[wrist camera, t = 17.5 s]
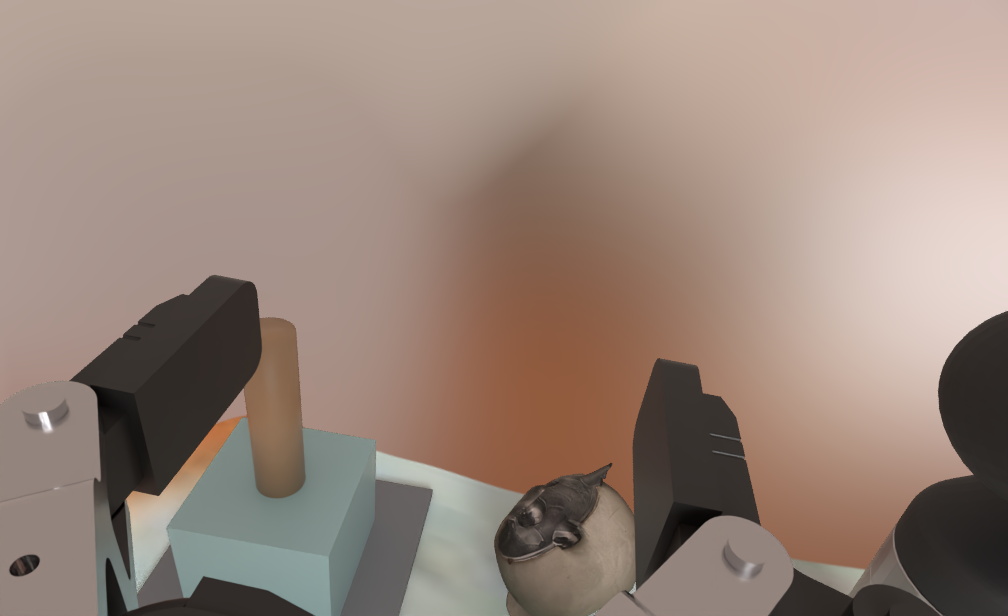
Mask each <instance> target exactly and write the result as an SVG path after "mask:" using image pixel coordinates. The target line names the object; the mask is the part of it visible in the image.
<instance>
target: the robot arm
mask: <svg viewBox="0 0 1008 616" xmlns="http://www.w3.org/2000/svg"><path fill="white" fill-rule="evenodd" d="M261 353H262V339H261V329H260V318H259V308H258V298H257V290H256V287H255V285H254V284H253V283H252V282H249V281H244V280H239V279H233V278H228V277H223V276H217V275H212V276H210V277H209V278H208V279H206V280H205V281H204V282H203V283H202V284H201V285H200V286H199V287H197V288H196V289H195V290H194V291H193V292H192V293H191V294H190V295H184V294H182V295H179V296H177V297H175V298H173V299H170V300H168V301H166V302H164V303H161V304H159V305H157V306H156V307H154V308H153V309H152V310H151V311H150V312H149V313H148V314H146V315H145V316H144V317H143V318H142V319H140V320H139V321H138V325H134V326H132V327H131V328H130V329H129V330H128V331H127V332H125V333H124V335H123V338H119V339H117V340H116V341H115V342H114V343H113V344H112V345H110V346H109V347H108V348H107V349H106V350H105V351H103V352H102V353H101V354H100V355H99V356H98V357H96V358H95V359H94V360H93V361H92V362H91V363H89V364H88V365H87V366H86V367H85V368H84V369H83V370H81V371H80V372H79V373H78V374H77V375H76V376H74V377H73V378H72V379H71V380H70V381H54V382H47V383H43V384H39V385H35V386H32V387H29V388H27V389H25V390H22V391H20V392H18V393H16V394H14V395H13V396H11V397H9V398H8V399H6V400H5V401H4V402H3V403H2V404H0V616H315V615H313V614H311V613H309V612H308V611H306V610H304V609H302V608H300V607H298V606H296V605H295V604H293V603H291V602H289V601H287V600H285V599H283V598H282V597H280V596H278V595H276V594H274V593H272V592H270V591H268V590H264V589H260V588H255V587H251V586H246V585H242V584H237V583H233V582H228V581H223V580H219V579H214V578H210V577H205V576H203V577H202V579H201V581H200V582H199V584H198V585H197V587H196V589H195V590H194V592H193V593H192V595H191V597H190V598H178V599H171V600H165V601H161V602H157V603H153V604H149V605H145V606H143V607H140V608H139V606H138V600H137V592H136V581H135V570H134V558H133V547H132V535H131V524H130V512H129V508H128V505H127V501H126V498H127V497H128V496H129V495H130V493H131V492H132V491H138V492H142V493H147V494H152V495H156V496H159V495H160V494H161V493H162V492H163V490H164V489H165V488H166V486H167V485H168V484H169V483H170V481H171V480H172V479H173V477H174V476H175V475H176V474H177V472H178V471H179V470H180V469H181V467H182V466H183V465H184V463H185V462H186V461H187V460H188V458H189V457H190V456H191V454H192V453H193V452H194V451H195V449H196V448H197V447H198V445H199V444H200V443H201V442H202V440H203V439H204V438H205V437H206V435H207V434H208V433H209V431H210V430H211V429H212V428H213V426H214V425H215V424H216V422H217V421H218V420H219V418H220V417H221V416H222V415H223V413H224V412H225V411H226V410H227V408H228V407H229V406H230V405H231V403H232V402H233V401H234V399H235V398H236V397H237V395H238V394H239V393H240V392H241V390H242V389H243V388H244V387H245V385H246V384H247V383H248V381H249V380H250V379H251V378H252V376H253V375H254V373H255V372H256V370H257V367H258V365H259V362H260V359H261ZM938 397H939V410H940V414H941V418H942V422H943V426H944V428H945V430H946V433H947V435H948V437H949V440H950V442H951V444H952V446H953V447H954V449H955V451H956V452H957V454H958V455H959V457H960V458H961V460H962V461H963V463H964V464H965V465H966V466H967V467H968V468H969V470H970V471H971V472H972V473H973V474H974V475H971V476H965V477H959V478H953V479H949V480H944V481H941V482H938V483H935V484H933V485H931V486H929V487H928V488H926V489H924V490H923V491H922V492H920V493H919V494H918V495H917V496H916V497H915V498H914V499H913V501H912V502H911V503H910V505H909V506H908V508H907V509H906V511H905V512H904V514H903V515H902V516H901V518H900V519H899V521H898V523H897V524H896V525H895V527H894V528H893V530H892V531H891V533H890V534H889V536H888V537H887V539H886V540H885V542H884V543H883V545H882V546H881V548H880V549H879V551H878V552H877V553H876V555H875V557H874V558H873V560H872V562H871V563H870V564H869V566H868V567H867V569H866V570H865V572H864V573H863V575H862V576H861V578H860V579H859V581H858V582H857V584H856V585H855V587H854V588H853V590H852V591H851V593H850V594H849V596H847V595H845V594H843V593H841V592H839V591H837V590H835V589H833V588H831V587H828V586H826V585H824V584H822V583H820V582H818V581H816V580H814V579H812V578H810V577H808V576H806V575H804V574H802V573H801V572H799V571H798V570H796V569H795V568H793V565H792V561H791V559H790V557H789V554H788V553H787V551H786V549H785V548H784V546H783V545H782V544H781V543H780V541H779V540H778V539H777V538H776V537H775V536H774V535H772V534H771V533H770V532H769V531H767V530H766V529H764V528H763V527H761V525H760V520H759V516H758V511H757V507H756V503H755V498H754V494H753V489H752V485H751V481H750V476H749V473H748V468H747V464H746V460H744V457H745V454H744V450H743V446H742V443H741V442H740V439H741V437H740V433H739V428H738V424H737V420H736V417H735V415H734V414H733V413H732V411H731V410H730V409H729V407H728V406H727V405H726V403H725V402H724V401H723V399H722V398H721V397H719V396H714V395H709V394H703V393H702V387H701V380H700V375H699V369H698V367H697V366H696V365H691V364H686V363H680V362H675V361H670V360H665V359H660V358H659V359H657V360H656V362H655V365H654V367H653V371H652V374H651V376H650V380H649V383H648V386H647V389H646V392H645V395H644V399H643V402H642V405H641V408H640V411H639V414H638V418H637V421H636V427H635V431H634V438H633V478H634V479H633V482H634V523H635V564H636V591H635V592H634V593H633V594H630V593H629V592H628V591H626V590H624V591H621V592H619V593H618V594H617V595H615V596H614V597H613V598H612V599H611V600H610V601H608V602H607V603H606V604H605V605H604V606H603V607H602V608H601V609H600V610H599V611H598V612H597V613H596V614H595V615H594V616H1008V311H1006V312H1004V313H1001V314H999V315H996V316H994V317H992V318H990V319H988V320H986V321H984V322H983V323H981V324H980V325H979V326H977V327H976V328H974V329H973V330H971V331H970V332H969V333H968V334H967V335H966V336H965V337H964V338H963V339H962V340H961V341H960V342H959V343H958V344H957V345H956V346H955V347H954V349H953V351H952V352H951V353H950V355H949V356H948V358H947V360H946V362H945V364H944V366H943V369H942V372H941V375H940V380H939V388H938Z"/></svg>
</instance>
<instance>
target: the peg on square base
mask: <svg viewBox="0 0 1008 616" xmlns="http://www.w3.org/2000/svg"><path fill="white" fill-rule="evenodd" d="M260 329H261V339H262V353H261V359H260V362H259V365H258V367H257V370H256V372H255V373H254V375H253V376H252V378H251V379H250V380H249V381H248V383H247V384H246V385H245V387H244V394H245V402H246V410H247V418H245V417H242V419H241V420H240V421H239V423H238V424H237V426H236V427H235V429H234V430H233V432H232V433H231V434H230V436H229V437H228V439H227V440H226V442H225V443H224V445H223V446H222V448H221V449H220V450H219V452H218V453H217V455H216V456H215V458H214V459H213V461H212V462H211V464H210V465H209V466H208V468H207V469H206V471H205V472H204V474H203V475H202V477H201V478H200V480H199V481H198V482H197V484H196V485H195V487H194V488H193V490H192V491H191V493H190V494H189V496H188V497H187V498H186V500H185V501H184V503H183V504H182V506H181V507H180V509H179V510H178V511H177V513H176V514H175V516H174V517H173V519H172V520H171V522H170V523H169V525H168V526H167V527H166V528H167V532H168V536H169V540H170V544H171V548H172V552H173V556H174V560H175V564H176V569H177V573H178V577H179V581H180V585H181V589H182V593H183V597H184V598H190V597H191V595H192V593H193V592H194V590H195V589H196V587H197V585H198V584H199V582H200V581H201V579H202V577H203V576H205V577H210V578H214V579H219V580H223V581H228V582H233V583H237V584H242V585H246V586H251V587H255V588H260V589H264V590H268V591H270V592H272V593H274V594H276V595H278V596H280V597H282V598H283V599H285V600H287V601H289V602H291V603H293V604H295V605H296V606H298V607H300V608H302V609H304V610H306V611H308V612H309V613H311V614H313V615H315V616H340V614H341V612H342V609H343V606H344V603H345V600H346V598H347V595H348V592H349V589H350V586H351V584H352V581H353V578H354V575H355V572H356V570H357V567H358V564H359V561H360V558H361V556H362V553H363V550H364V547H365V544H366V542H367V539H368V536H369V533H370V530H371V528H372V525H373V522H374V519H375V471H376V440H372V439H366V438H360V437H354V436H348V435H343V434H337V433H331V432H326V431H320V430H314V429H308V428H303V427H302V414H301V398H300V384H299V383H300V382H299V367H298V352H297V337H296V328H295V327H294V325H293V324H292V323H290V322H289V321H286V320H284V319H280V318H260Z"/></svg>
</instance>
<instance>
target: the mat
mask: <svg viewBox="0 0 1008 616" xmlns="http://www.w3.org/2000/svg"><path fill="white" fill-rule="evenodd" d="M432 492H433V490H432V489H426V488H420V487H415V486H409V485H403V484H398V483H392V482H386V481H381V480H375V519H374V522H373V525H372V528H371V530H370V533H369V536H368V539H367V542H366V544H365V547H364V550H363V553H362V556H361V558H360V561H359V564H358V567H357V570H356V572H355V575H354V578H353V581H352V584H351V586H350V589H349V592H348V595H347V598H346V600H345V603H344V606H343V609H342V612H341V614H340V616H399V613H400V609H401V606H402V602H403V599H404V595H405V591H406V588H407V584H408V580H409V577H410V573H411V570H412V566H413V562H414V559H415V555H416V552H417V548H418V544H419V541H420V537H421V533H422V530H423V526H424V523H425V519H426V515H427V512H428V508H429V505H430V501H431V497H432ZM178 598H184V597H183V593H182V589H181V585H180V581H179V577H178V573H177V569H176V564H175V560H174V556H173V552H172V548H171V545H170V546H169V548H168V549H167V551H166V552H165V554H164V555H163V557H162V558H161V560H160V561H159V563H158V564H157V566H156V567H155V569H154V570H153V572H152V573H151V575H150V576H149V578H148V579H147V581H146V582H145V584H144V585H143V587H142V588H141V590H140V591H139V593H138V594H137V600H138V606H139V608H140V607H143V606H145V605H149V604H153V603H157V602H161V601H165V600H171V599H178Z"/></svg>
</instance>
